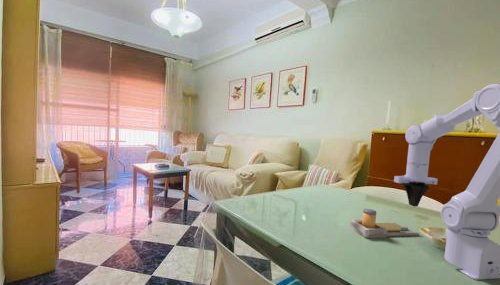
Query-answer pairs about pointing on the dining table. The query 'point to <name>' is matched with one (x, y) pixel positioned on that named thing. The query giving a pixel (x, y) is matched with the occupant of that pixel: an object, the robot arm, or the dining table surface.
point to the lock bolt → (389, 226)
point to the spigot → (369, 218)
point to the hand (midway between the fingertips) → (413, 205)
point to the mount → (378, 231)
